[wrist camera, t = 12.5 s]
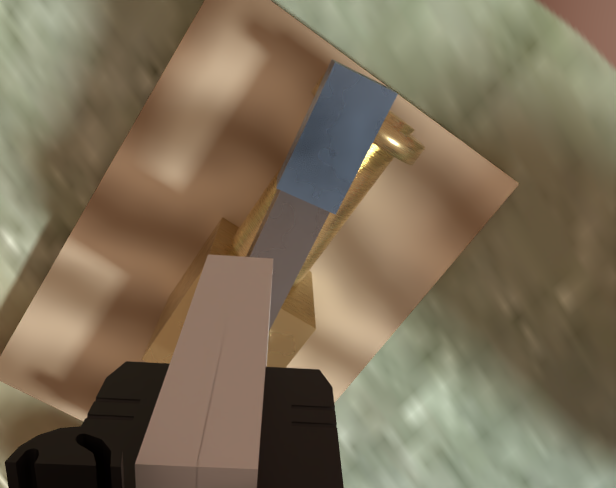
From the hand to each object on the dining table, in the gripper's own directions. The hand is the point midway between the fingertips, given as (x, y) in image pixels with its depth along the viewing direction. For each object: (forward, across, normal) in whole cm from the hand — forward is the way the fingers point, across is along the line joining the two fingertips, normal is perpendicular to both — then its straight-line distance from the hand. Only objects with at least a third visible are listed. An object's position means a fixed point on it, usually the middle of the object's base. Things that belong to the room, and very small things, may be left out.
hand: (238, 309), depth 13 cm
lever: (+15, +1, -4) cm, 16 cm away
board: (+24, -2, -11) cm, 27 cm away
